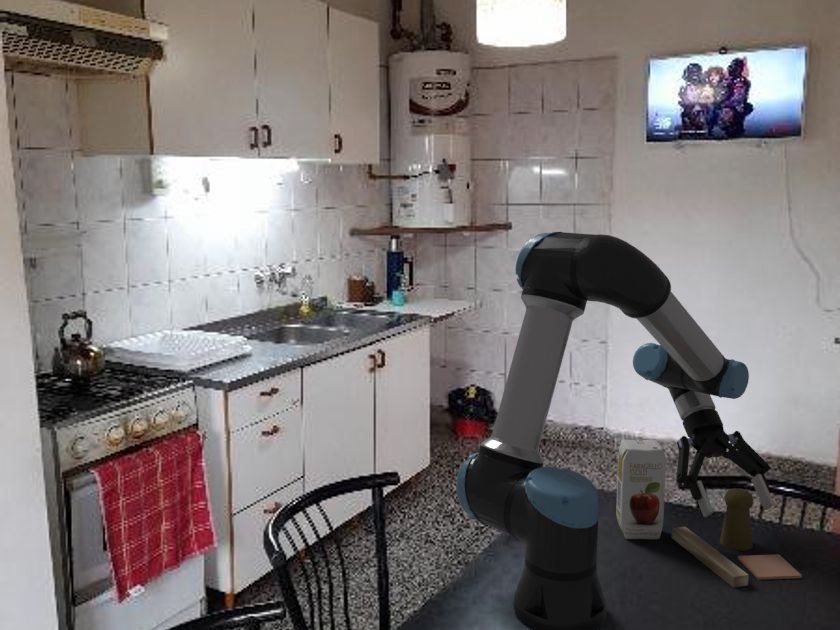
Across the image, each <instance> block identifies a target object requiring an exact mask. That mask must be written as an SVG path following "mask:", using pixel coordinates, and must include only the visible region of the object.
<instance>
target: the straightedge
mask: <svg viewBox="0 0 840 630" xmlns="http://www.w3.org/2000/svg"><path fill="white" fill-rule="evenodd" d="M671 539H672V540H674V541H675V542H676V543H678V545H680V547H682V548H684V549H685V550H686V551H687V552H689V554H691V555H692V556H694V557H695V558H696V559H697V560H698V561H699V562H701V563H702V564H703V565H705V566H706V567H707V568H709V570H711V571H712V572H713V573H714V574H716V575H717V576H718V577H719V578H721V579H722V580H723V581H724V582H726V583H727V584H728V585H730V586H731V588H738V587H745V586H749V578H750V577H749V574H748V573H747V572H745V571H744V570H743V569H742V568H740V567H739V566H737V564H736V563H734V562H732V561H731V560H730V559H728V558H727V556H725V555H723V554H722V553H720V552H719V550H717V549H715V548H714V547H713V546H712V545H710V544H709V543H707V542H706V541H705V540H704V539H702V537H700V536H698V535H697V534H696V533H694V532H693V531H692V530H690V529H689V528H688V527H686V526H679V527H672V528H671Z"/></svg>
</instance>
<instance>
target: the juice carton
mask: <svg viewBox="0 0 840 630" xmlns="http://www.w3.org/2000/svg"><path fill="white" fill-rule="evenodd" d="M617 458H618V459H617V477H616V478H617V482H616V483H617V485H616V487H617V488H616V510H615V511H616V513H615V514H616V515H615V516H616V520H617V523H618V526H619V528H620V531H621V532H622V535H623V538H625V540H660V538H661V534H662V531H663V527H664V516H665V515H664V514H665V496H666V495H665V493H666V489H665V487H666V473H667V472H666V470H667V469H666V465H667V464H666V463H667V461H666V453H665V449H664V447H662V446H661V445H660V443H659V441H658V440H656V439H643V440H635V439H624V438H623V439H621V441H620V446H619V449H618V457H617Z"/></svg>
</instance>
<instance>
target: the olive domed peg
mask: <svg viewBox="0 0 840 630" xmlns="http://www.w3.org/2000/svg"><path fill="white" fill-rule="evenodd" d="M724 503H725V505H726V510H725V514H724V520H723V524H722V527H721V534H720V537H719V544H721V546H723V547H724V548H727V549H729V550H733V551H738V552H739V551H741V552H742V551H749V550H751V549H752V548H754V546H753V535H752V522H751V512H750V511H751V508H752V507H753V504H754V497H753V495H752V493H751V492H750V491H748V490H746V489H743V488H734V487H733V488H730V489H728V490H726V492H725V493H724Z"/></svg>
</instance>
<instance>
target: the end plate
mask: <svg viewBox="0 0 840 630" xmlns="http://www.w3.org/2000/svg"><path fill="white" fill-rule="evenodd" d="M737 559H738V560H739V561H740V562H741V564H743V566H744V567H746V569H748V570H749V571H750V573H751V574H752V575H753V576H754V577H755V578H756V579H757V580H758V581H759V580H760V581H761V580H785V579H803V576H802V574H801V573H800V572H799V571H798V570H797V569H796V568H794V567H793V565H791V564H790V563H789V562H788V561H787V560H786V559H785V558H783V557H782V556H781V555H780V554H778V553H777V554H752V555H751V554H750V555H737Z"/></svg>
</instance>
